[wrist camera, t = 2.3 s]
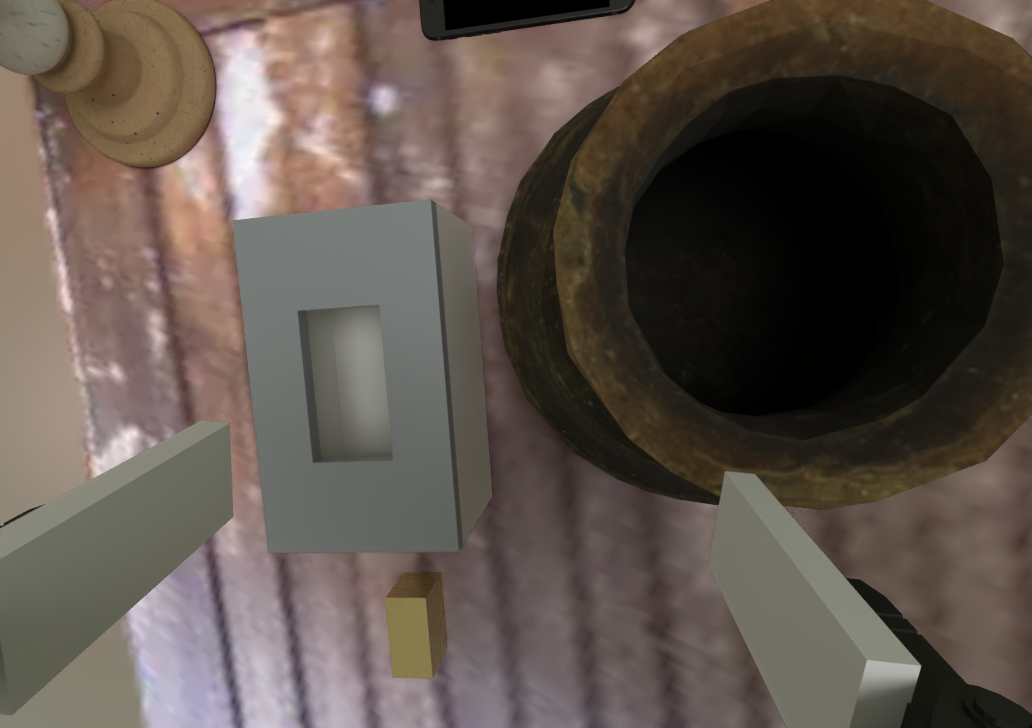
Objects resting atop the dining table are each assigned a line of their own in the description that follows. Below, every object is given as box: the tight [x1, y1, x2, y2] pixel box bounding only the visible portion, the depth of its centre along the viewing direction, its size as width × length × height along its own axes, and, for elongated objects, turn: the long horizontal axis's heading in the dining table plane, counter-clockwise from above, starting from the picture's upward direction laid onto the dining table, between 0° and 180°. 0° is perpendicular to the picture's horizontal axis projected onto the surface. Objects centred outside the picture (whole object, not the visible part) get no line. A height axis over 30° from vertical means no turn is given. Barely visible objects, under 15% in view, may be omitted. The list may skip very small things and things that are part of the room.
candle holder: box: [0, 0, 215, 167], centre depth 34 cm, size 12×12×20 cm
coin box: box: [233, 199, 492, 553], centre depth 37 cm, size 20×12×10 cm, turn 4°
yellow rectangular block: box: [385, 573, 448, 679], centre depth 42 cm, size 6×3×4 cm, turn 4°
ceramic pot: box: [497, 0, 1032, 510], centre depth 28 cm, size 24×24×22 cm
